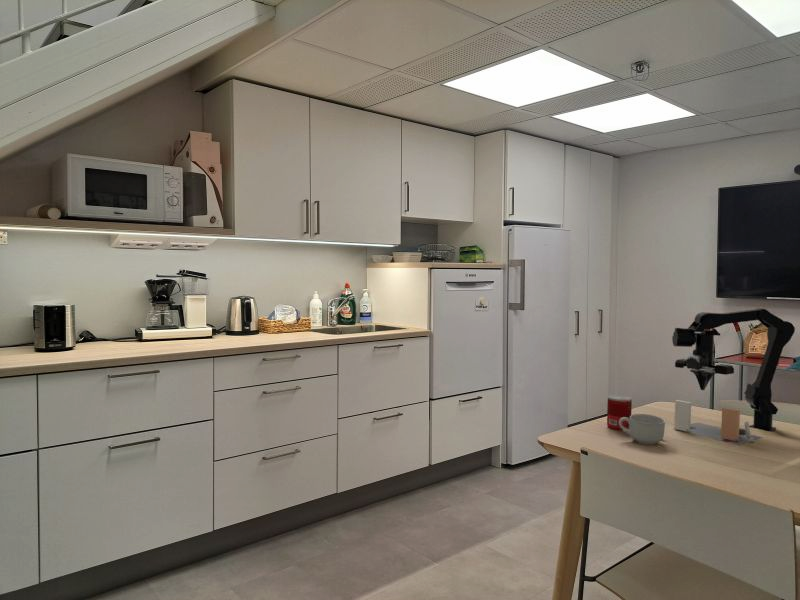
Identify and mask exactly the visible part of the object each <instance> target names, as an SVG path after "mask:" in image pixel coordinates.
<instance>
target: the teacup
mask: <svg viewBox="0 0 800 600" xmlns="http://www.w3.org/2000/svg"><path fill="white" fill-rule="evenodd" d="M624 420H626V421H627V422H628V424H629V426H630V427H629V428H625V427H623V425H622V421H624ZM619 426H620V427H621V429H623V430H624V432H625V433H627V435H629V436H631V438H632V439H633V440H634V441H635V442H637V443H639V444H643V445H649V446H650V445H657V444H658V443H660V442H661V441H662V440H663V439H664V437H665V426H666V420H665V419H664V418H662V417H660V416H657V415H653V414H647V413H634V414H631V416H630V419H629V418H627V417H622V418H621V419H620V420H619ZM628 429H629V430H628ZM623 430H622V431H623Z"/></svg>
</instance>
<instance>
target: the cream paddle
mask: <svg viewBox="0 0 800 600" xmlns="http://www.w3.org/2000/svg"><path fill="white" fill-rule="evenodd" d="M674 402H675V403H674V420H673V421H674V424H673V425H674V427H673V428H674V429H673V430H675V429H678V430H677V431H679V430H682V431H681V432H683V431H688V430H690V424H692V423H691V422H692V421H691V420H692V419H691V416H692V415H691V414H692V402H690V401H686V400H678V399H676V400H674Z"/></svg>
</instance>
